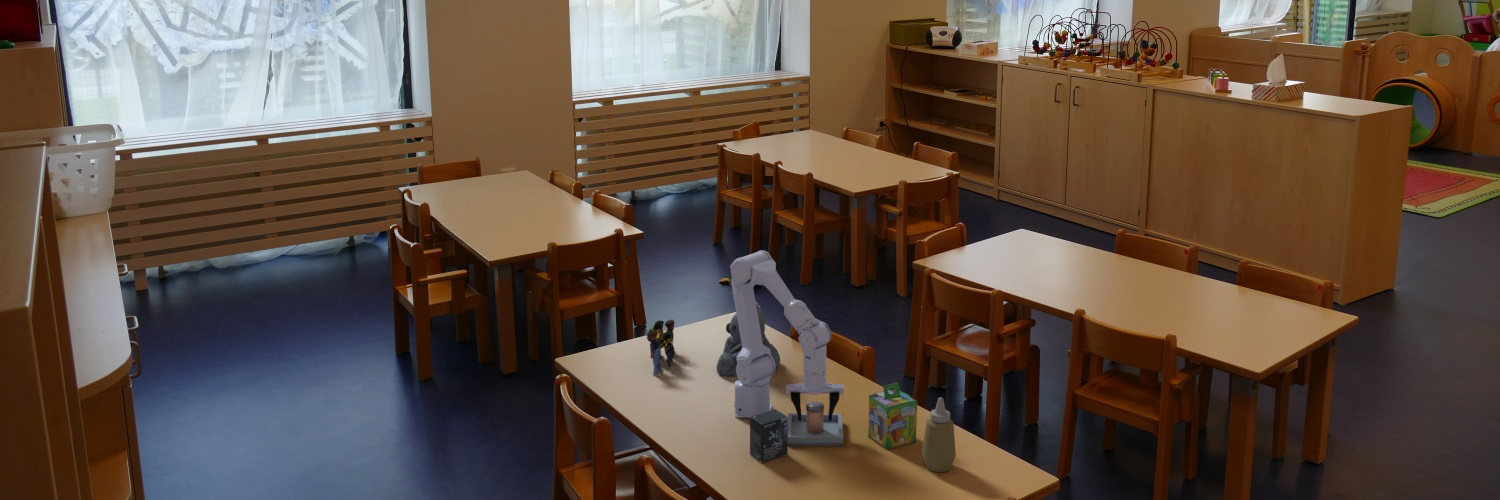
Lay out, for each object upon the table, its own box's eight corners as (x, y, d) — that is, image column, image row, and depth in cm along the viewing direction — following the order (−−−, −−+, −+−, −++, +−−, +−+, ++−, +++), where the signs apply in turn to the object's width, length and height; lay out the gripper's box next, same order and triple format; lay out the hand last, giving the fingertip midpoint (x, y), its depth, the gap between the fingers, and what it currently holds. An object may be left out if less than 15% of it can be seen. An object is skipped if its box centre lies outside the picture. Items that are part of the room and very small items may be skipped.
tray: (787, 445, 295) (787, 437, 294) (788, 421, 308) (787, 413, 307) (843, 446, 294) (843, 437, 293) (841, 421, 307) (841, 413, 307)
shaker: (805, 433, 299) (805, 408, 297) (806, 426, 303) (806, 401, 301) (823, 434, 299) (824, 408, 297) (824, 426, 303) (824, 401, 301)
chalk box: (887, 450, 291) (888, 395, 287) (866, 436, 299) (867, 382, 295) (917, 442, 295) (919, 388, 291) (896, 428, 303) (898, 375, 299)
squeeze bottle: (918, 460, 286) (920, 392, 281) (950, 458, 287) (953, 390, 281) (925, 476, 278) (927, 406, 273) (959, 474, 279) (961, 404, 274)
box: (762, 463, 286) (761, 424, 283) (749, 455, 290) (748, 416, 287) (788, 455, 290) (788, 416, 287) (775, 446, 294) (775, 408, 291)
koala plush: (724, 354, 353) (723, 293, 348) (783, 357, 351) (783, 295, 345) (714, 377, 337) (713, 313, 331) (777, 380, 334) (776, 315, 329)
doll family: (679, 379, 336) (678, 335, 332) (648, 380, 335) (646, 337, 332) (675, 349, 358) (674, 308, 354) (646, 350, 357) (644, 309, 353)
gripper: (786, 376, 292) (786, 425, 296) (844, 376, 292) (843, 426, 296) (786, 365, 299) (786, 414, 303) (843, 365, 298) (842, 414, 302)
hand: (814, 419), depth 300 cm, fingers open, 7 cm apart
